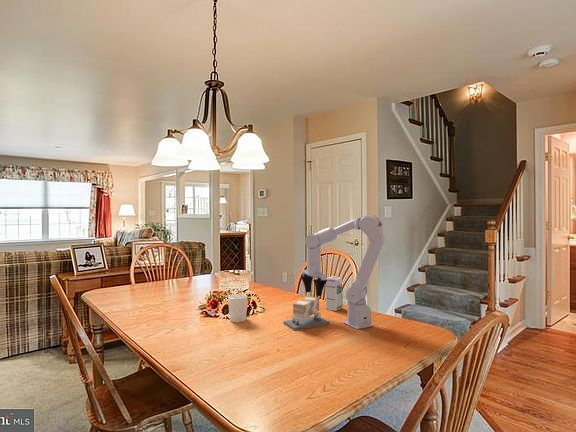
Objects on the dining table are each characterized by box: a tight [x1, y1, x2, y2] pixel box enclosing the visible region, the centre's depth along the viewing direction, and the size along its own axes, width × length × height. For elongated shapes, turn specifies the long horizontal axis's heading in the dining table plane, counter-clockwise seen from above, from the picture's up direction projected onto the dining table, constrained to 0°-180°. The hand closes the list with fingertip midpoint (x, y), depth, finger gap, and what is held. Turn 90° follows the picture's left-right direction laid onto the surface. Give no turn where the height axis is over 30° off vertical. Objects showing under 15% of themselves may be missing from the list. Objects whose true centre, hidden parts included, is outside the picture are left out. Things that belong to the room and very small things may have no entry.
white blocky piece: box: [292, 295, 320, 320], centre depth 146 cm, size 14×4×6 cm, turn 150°
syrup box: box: [325, 275, 343, 312], centre depth 168 cm, size 6×6×14 cm
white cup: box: [227, 293, 248, 323], centre depth 151 cm, size 8×8×10 cm
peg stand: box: [283, 311, 330, 331], centre depth 146 cm, size 16×9×4 cm, turn 117°
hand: (313, 294), depth 155 cm, fingers open, 7 cm apart
